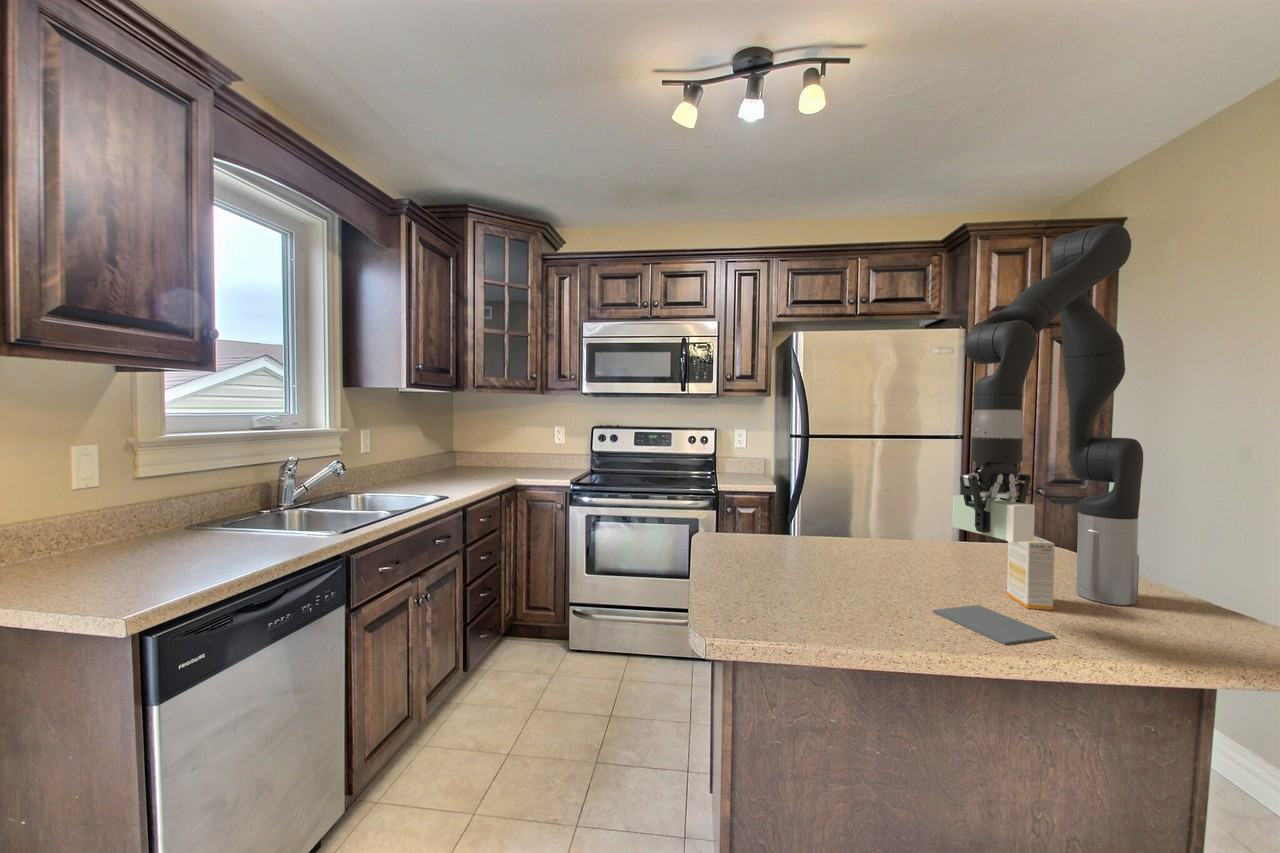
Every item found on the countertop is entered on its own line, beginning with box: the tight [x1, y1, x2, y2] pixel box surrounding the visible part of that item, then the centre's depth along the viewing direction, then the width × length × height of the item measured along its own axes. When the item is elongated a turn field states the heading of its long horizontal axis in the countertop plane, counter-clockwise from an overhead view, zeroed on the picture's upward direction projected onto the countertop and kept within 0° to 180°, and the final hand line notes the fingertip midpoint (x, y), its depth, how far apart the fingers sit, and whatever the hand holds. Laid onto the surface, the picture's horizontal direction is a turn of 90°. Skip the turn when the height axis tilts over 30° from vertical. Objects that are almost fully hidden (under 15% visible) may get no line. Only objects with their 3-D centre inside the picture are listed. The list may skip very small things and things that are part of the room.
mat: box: [932, 604, 1056, 646], centre depth 93 cm, size 11×14×1 cm
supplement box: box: [1006, 535, 1056, 611], centre depth 104 cm, size 8×5×13 cm, turn 168°
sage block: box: [951, 494, 1036, 542], centre depth 93 cm, size 5×6×12 cm
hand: (994, 530), depth 92 cm, fingers closed on sage block, 4 cm apart
